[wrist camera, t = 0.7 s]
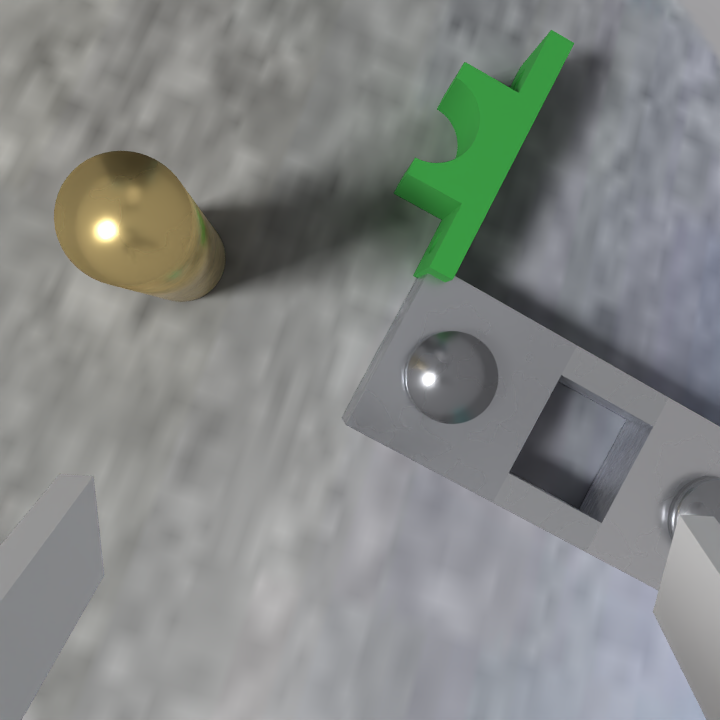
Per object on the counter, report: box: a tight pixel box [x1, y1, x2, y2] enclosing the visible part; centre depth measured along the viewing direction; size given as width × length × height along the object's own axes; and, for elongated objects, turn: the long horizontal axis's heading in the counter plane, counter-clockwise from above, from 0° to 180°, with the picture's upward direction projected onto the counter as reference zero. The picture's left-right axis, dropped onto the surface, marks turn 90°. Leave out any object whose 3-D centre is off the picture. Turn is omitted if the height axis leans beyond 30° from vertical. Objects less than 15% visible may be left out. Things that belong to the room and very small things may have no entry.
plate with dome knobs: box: [342, 273, 720, 591], centre depth 32 cm, size 8×20×3 cm, turn 61°
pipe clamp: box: [394, 30, 574, 282], centre depth 31 cm, size 11×4×5 cm, turn 153°
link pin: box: [54, 151, 225, 302], centre depth 26 cm, size 4×4×11 cm
